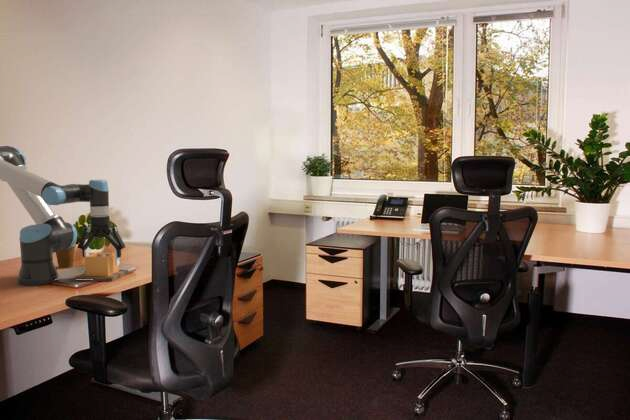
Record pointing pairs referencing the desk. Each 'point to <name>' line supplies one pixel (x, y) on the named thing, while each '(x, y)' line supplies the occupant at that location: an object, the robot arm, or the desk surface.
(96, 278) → the keeper
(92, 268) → the open cardboard box
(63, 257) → the disposable coffee cup
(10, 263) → the desk surface
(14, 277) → the desk surface
